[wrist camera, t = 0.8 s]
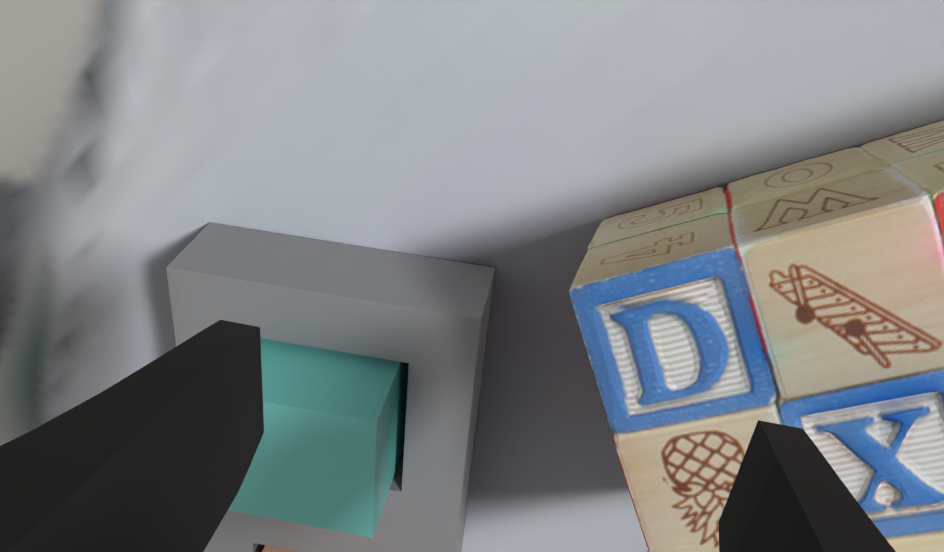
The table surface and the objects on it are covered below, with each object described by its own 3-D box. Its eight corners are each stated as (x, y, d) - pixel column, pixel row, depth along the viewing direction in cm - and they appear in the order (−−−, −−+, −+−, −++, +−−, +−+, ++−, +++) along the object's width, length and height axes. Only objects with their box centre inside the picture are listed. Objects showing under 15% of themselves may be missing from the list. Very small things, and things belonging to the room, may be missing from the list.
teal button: (403, 446, 24) (373, 537, 21) (274, 422, 24) (226, 509, 21) (410, 337, 22) (376, 422, 19) (268, 313, 22) (214, 393, 19)
